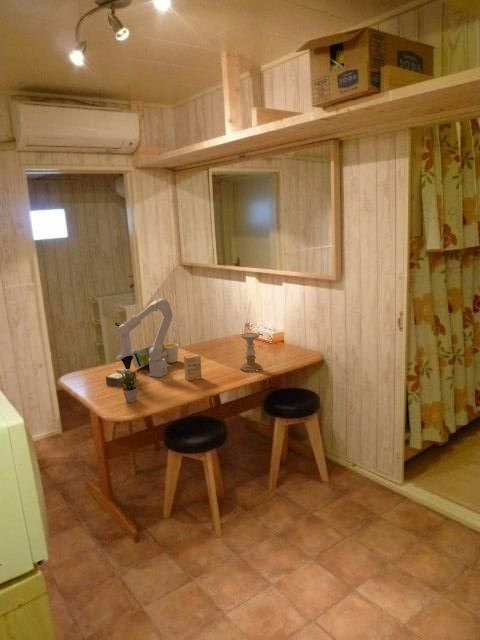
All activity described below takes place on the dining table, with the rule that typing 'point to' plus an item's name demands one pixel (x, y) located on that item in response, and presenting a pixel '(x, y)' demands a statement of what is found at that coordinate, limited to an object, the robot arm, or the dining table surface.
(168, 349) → the mug
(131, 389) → the house plant
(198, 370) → the supplement box
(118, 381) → the walnut box
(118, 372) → the cover plate
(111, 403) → the dining table surface
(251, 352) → the candle holder
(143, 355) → the tea box
